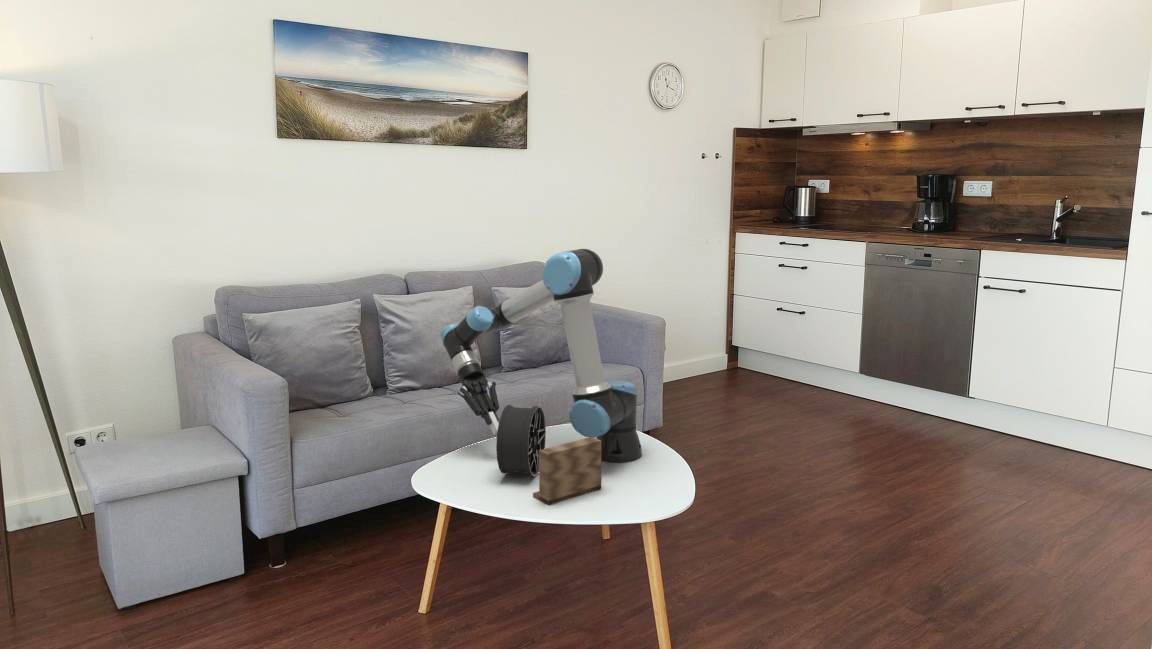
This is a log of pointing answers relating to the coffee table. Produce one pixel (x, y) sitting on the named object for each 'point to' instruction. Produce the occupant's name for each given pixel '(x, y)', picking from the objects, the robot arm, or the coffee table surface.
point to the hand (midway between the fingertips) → (497, 432)
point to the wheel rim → (520, 439)
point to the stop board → (569, 470)
